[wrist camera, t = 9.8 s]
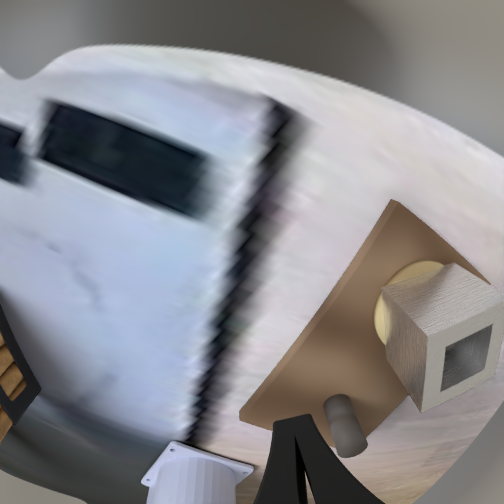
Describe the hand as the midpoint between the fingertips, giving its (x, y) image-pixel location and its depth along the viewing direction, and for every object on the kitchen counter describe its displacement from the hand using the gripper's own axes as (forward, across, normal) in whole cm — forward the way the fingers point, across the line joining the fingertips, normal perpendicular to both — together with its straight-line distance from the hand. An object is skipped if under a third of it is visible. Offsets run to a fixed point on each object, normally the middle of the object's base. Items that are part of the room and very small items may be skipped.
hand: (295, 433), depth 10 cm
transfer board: (+9, -6, +5) cm, 12 cm away
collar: (+8, -9, +2) cm, 12 cm away
